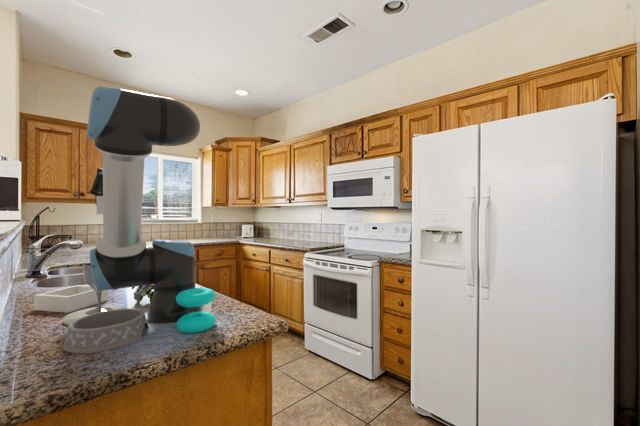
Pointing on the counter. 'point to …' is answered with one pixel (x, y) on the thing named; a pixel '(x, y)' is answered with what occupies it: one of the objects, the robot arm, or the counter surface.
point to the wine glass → (90, 282)
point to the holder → (68, 299)
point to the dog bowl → (105, 330)
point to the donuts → (195, 319)
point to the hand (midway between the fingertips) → (116, 213)
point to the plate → (82, 314)
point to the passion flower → (143, 292)
